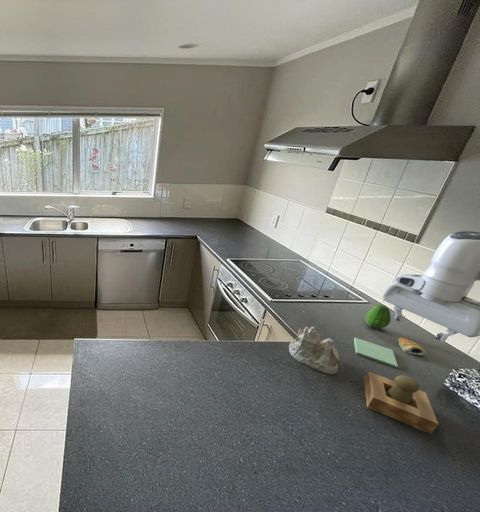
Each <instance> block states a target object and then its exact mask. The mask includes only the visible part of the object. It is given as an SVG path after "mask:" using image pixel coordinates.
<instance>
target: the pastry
mask: <svg viewBox="0 0 480 512" xmlns="http://www.w3.org/2000/svg"><path fill="white" fill-rule="evenodd" d="M398 346H399V347H400V349H401V350H402V351H403V352H404V353H406V354H409V355H415V356H424V355H426V350H424V348H423V347H422V346H421V344H419V343H417V342H415V341H414V340H411V339H408V338H405V337H400V338H398Z"/></svg>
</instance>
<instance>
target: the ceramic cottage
mask: <svg viewBox="0 0 480 512" xmlns="http://www.w3.org/2000/svg"><path fill="white" fill-rule="evenodd" d="M321 337H322V335H321V333H318V332H317V330H315V327H314V326H311V327H310V328H309V326H305V327H304V329H301V328H299V330H298V331H297V336H296V337H295V339H294V340H293V341H291V342H290V343H289V344H288V351H289V354H290V356H291V357H292V358H293V359H295V360H296V361H297V362H299V363H300V364H302V365H305V366H307V367H310V368H312V369H314V370H316V371H318V372H321V373H324V374H327V375H336V374H337V372H338V367H339V364H338V362H339V361H340V357H339V351H338V350H337V349H336V348H335V346H334V345H333V344H334V339H332V338H330V337H329V338H328V337H327V338H326V339H323V340H321Z"/></svg>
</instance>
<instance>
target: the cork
mask: <svg viewBox="0 0 480 512" xmlns="http://www.w3.org/2000/svg"><path fill="white" fill-rule="evenodd" d="M394 381H395V384H394V385H393V386H392V387H391V388H390V389H389V391H388V392H387V393H386V396H387V397H390V398H392V399H395V400H397V401H400V402H402V403H405V404H407V405H409V404H410V401H411V398H412V395H413V393H414V392H417V391H418V390H420V384H419V382H418V381H417V380H415V379H414V378H412V377H410V376H407V375H403V374H400V375H397V376H396V377H395V378H394Z"/></svg>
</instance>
